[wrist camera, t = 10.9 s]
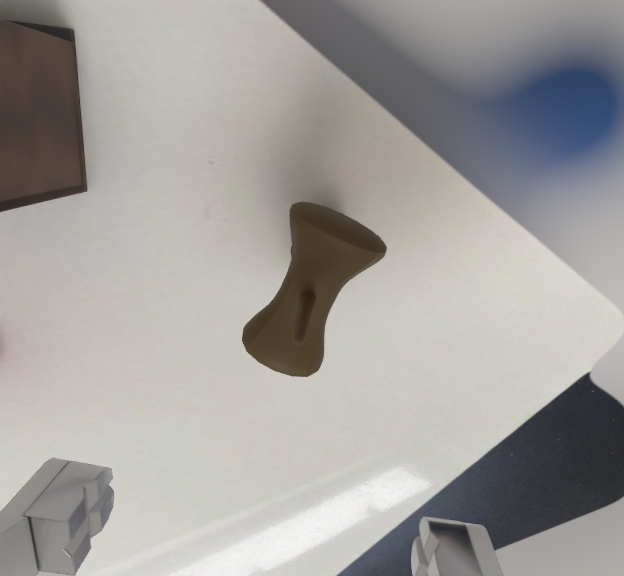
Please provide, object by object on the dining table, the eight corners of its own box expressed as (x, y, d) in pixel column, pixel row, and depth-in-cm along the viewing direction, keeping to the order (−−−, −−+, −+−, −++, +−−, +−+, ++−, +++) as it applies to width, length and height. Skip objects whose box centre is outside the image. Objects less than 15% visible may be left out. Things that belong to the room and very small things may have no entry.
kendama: (373, 201, 35) (408, 280, 17) (328, 292, 39) (315, 439, 20) (311, 173, 35) (277, 221, 16) (271, 267, 38) (205, 396, 20)
